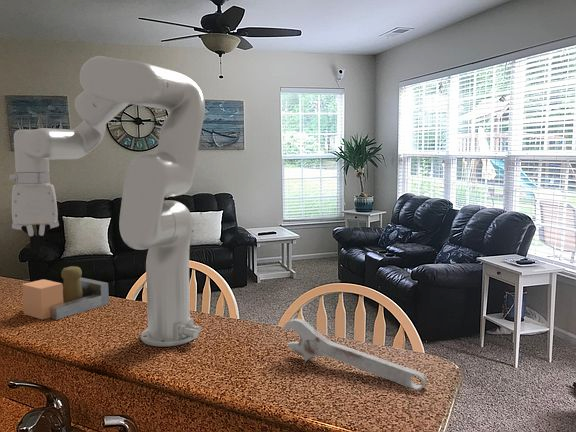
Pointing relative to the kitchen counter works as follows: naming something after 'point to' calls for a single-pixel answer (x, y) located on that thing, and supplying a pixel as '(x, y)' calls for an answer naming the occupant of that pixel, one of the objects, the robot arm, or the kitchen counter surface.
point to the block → (41, 297)
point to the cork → (71, 284)
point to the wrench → (348, 355)
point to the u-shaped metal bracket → (83, 299)
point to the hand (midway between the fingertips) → (37, 250)
